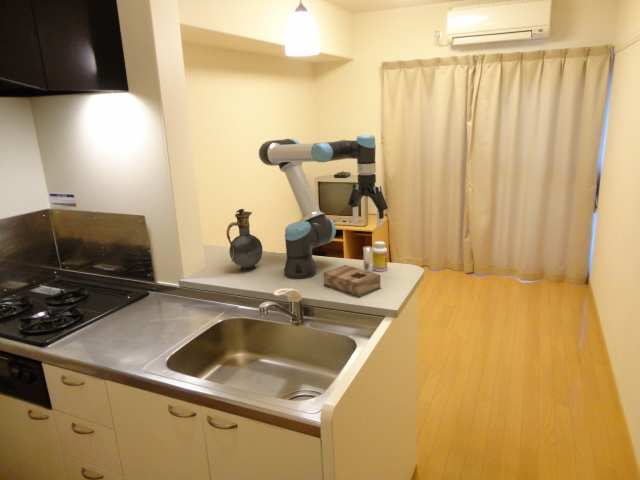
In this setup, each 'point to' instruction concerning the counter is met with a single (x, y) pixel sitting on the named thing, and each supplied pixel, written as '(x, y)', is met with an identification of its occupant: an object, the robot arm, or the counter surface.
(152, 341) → the counter surface
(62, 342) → the counter surface
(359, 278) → the socket block
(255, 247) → the pitcher
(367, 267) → the pin
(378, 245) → the supplement bottle
